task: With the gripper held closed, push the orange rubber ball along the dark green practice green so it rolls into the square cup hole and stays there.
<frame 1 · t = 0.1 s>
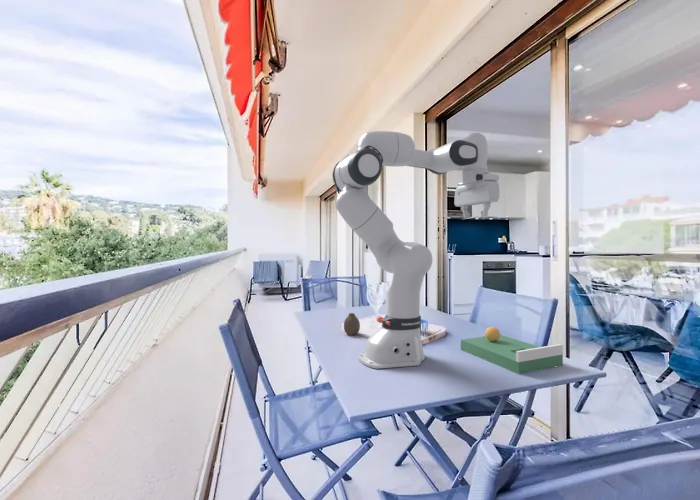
hand: (475, 217, 131), 48 cm above the table, tool pointing down, fingers open, 8 cm apart
roll: (409, 331, 156), on the table
ball: (492, 334, 126), point 6 cm above the table, touching green
vase: (351, 334, 152), on the table
green: (507, 356, 120), on the table
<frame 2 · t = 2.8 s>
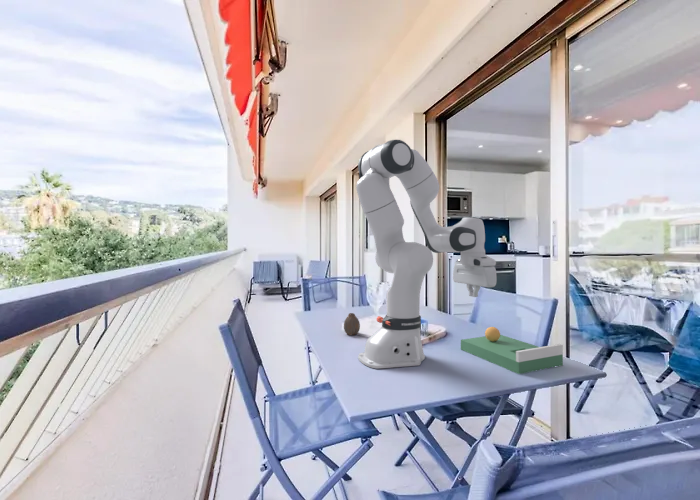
hand: (473, 296, 135), 18 cm above the table, tool pointing down, fingers closed
nothing on the table moved.
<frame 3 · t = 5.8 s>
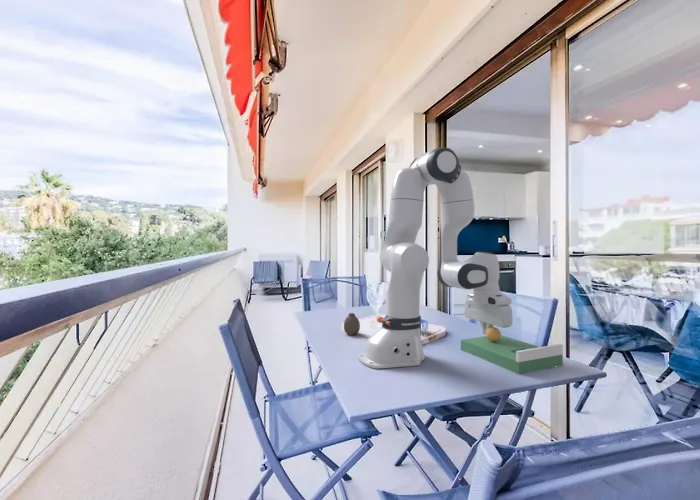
hand: (486, 334, 129), 5 cm above the table, tool pointing down, fingers closed, pressing on ball
ball: (493, 334, 126), point 6 cm above the table, touching green, gripper
everything else where it was.
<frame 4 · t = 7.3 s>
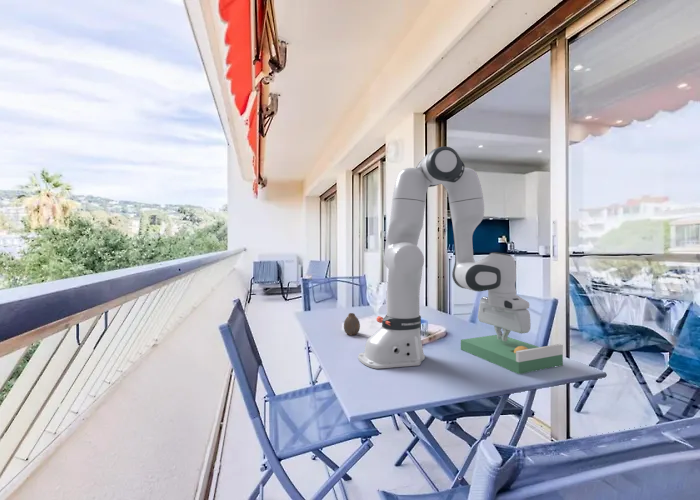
hand: (502, 340, 122), 5 cm above the table, tool pointing down, fingers closed
ball: (522, 354, 114), point 3 cm above the table, tilted 150°, touching green
everything else where it was.
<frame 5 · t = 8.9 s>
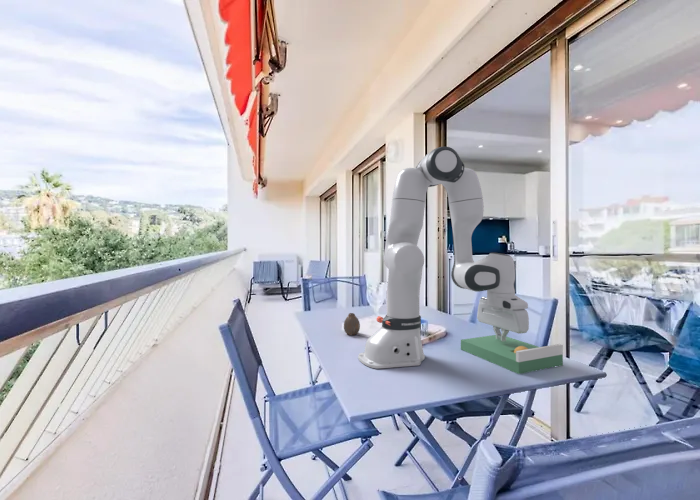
hand: (500, 340, 122), 5 cm above the table, tool pointing down, fingers closed
nothing on the table moved.
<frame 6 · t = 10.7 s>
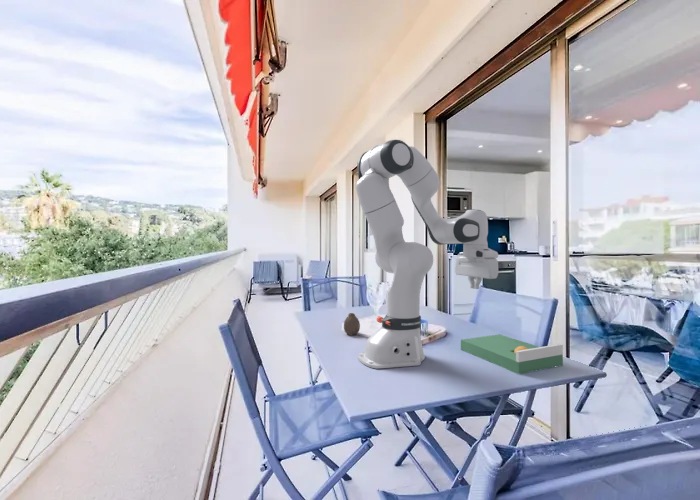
hand: (474, 288, 136), 21 cm above the table, tool pointing down, fingers closed
nothing on the table moved.
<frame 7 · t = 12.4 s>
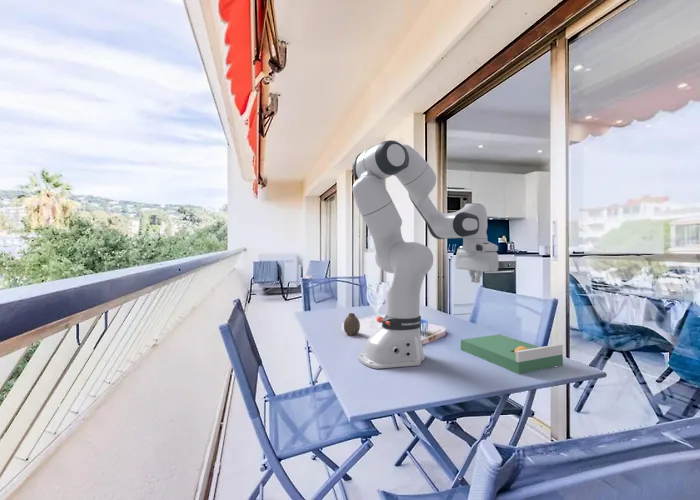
hand: (475, 282, 137), 23 cm above the table, tool pointing down, fingers closed
nothing on the table moved.
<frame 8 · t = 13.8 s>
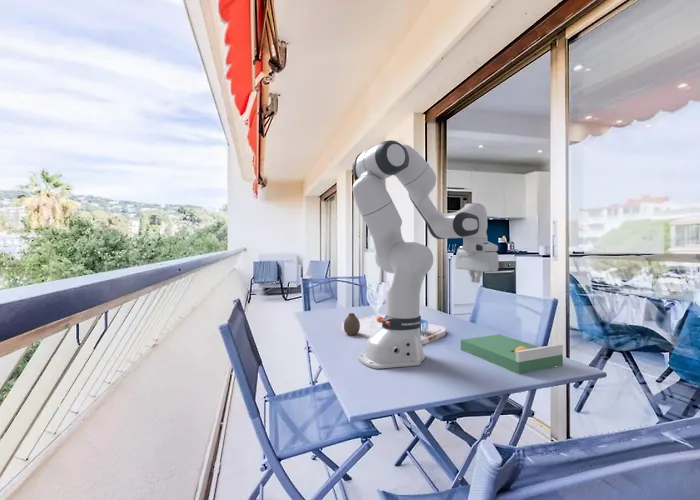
hand: (475, 282, 137), 23 cm above the table, tool pointing down, fingers closed
nothing on the table moved.
at the end: ball 0.6 cm from the target spot on the green, point 2.8 cm above the green's base; ball point 2.8 cm above the table; ball moved 13.9 cm from its start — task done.
